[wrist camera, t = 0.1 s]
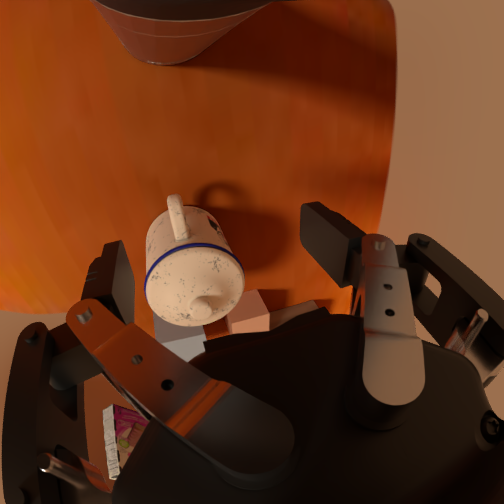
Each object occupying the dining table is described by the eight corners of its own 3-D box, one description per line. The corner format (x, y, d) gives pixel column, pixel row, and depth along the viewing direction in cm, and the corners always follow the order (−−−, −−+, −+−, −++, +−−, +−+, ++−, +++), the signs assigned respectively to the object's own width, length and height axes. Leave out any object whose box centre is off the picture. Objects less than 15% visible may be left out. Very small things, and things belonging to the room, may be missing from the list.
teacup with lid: (227, 261, 34) (259, 332, 25) (156, 280, 32) (165, 357, 23) (213, 168, 27) (248, 217, 18) (127, 189, 25) (114, 251, 16)
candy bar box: (155, 415, 51) (169, 481, 38) (142, 422, 51) (154, 485, 39) (112, 402, 44) (120, 476, 31) (101, 409, 45) (108, 479, 32)
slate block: (152, 309, 35) (156, 344, 30) (195, 300, 36) (204, 333, 32) (163, 337, 38) (168, 370, 34) (202, 328, 40) (211, 360, 35)
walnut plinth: (254, 316, 42) (263, 335, 38) (312, 299, 44) (324, 316, 41) (255, 353, 47) (263, 371, 44) (306, 337, 50) (315, 353, 47)
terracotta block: (221, 297, 37) (231, 323, 34) (256, 288, 39) (269, 313, 35) (225, 321, 40) (234, 347, 36) (257, 313, 42) (269, 337, 38)
